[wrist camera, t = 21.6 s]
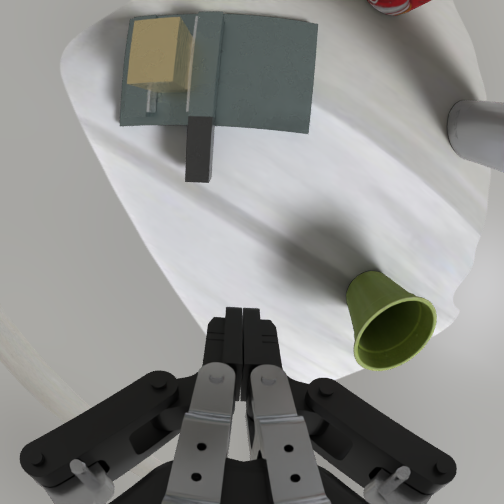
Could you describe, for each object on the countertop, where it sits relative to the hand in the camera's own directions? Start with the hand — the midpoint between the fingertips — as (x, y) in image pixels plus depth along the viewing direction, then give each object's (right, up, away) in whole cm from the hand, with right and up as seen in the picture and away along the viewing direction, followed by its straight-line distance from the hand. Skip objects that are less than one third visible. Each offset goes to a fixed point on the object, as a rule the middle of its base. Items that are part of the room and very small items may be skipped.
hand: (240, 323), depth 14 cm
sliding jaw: (-5, +20, +16) cm, 26 cm away
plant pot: (+18, -2, +30) cm, 35 cm away
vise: (-4, +24, +16) cm, 29 cm away
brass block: (-8, +24, +15) cm, 29 cm away
